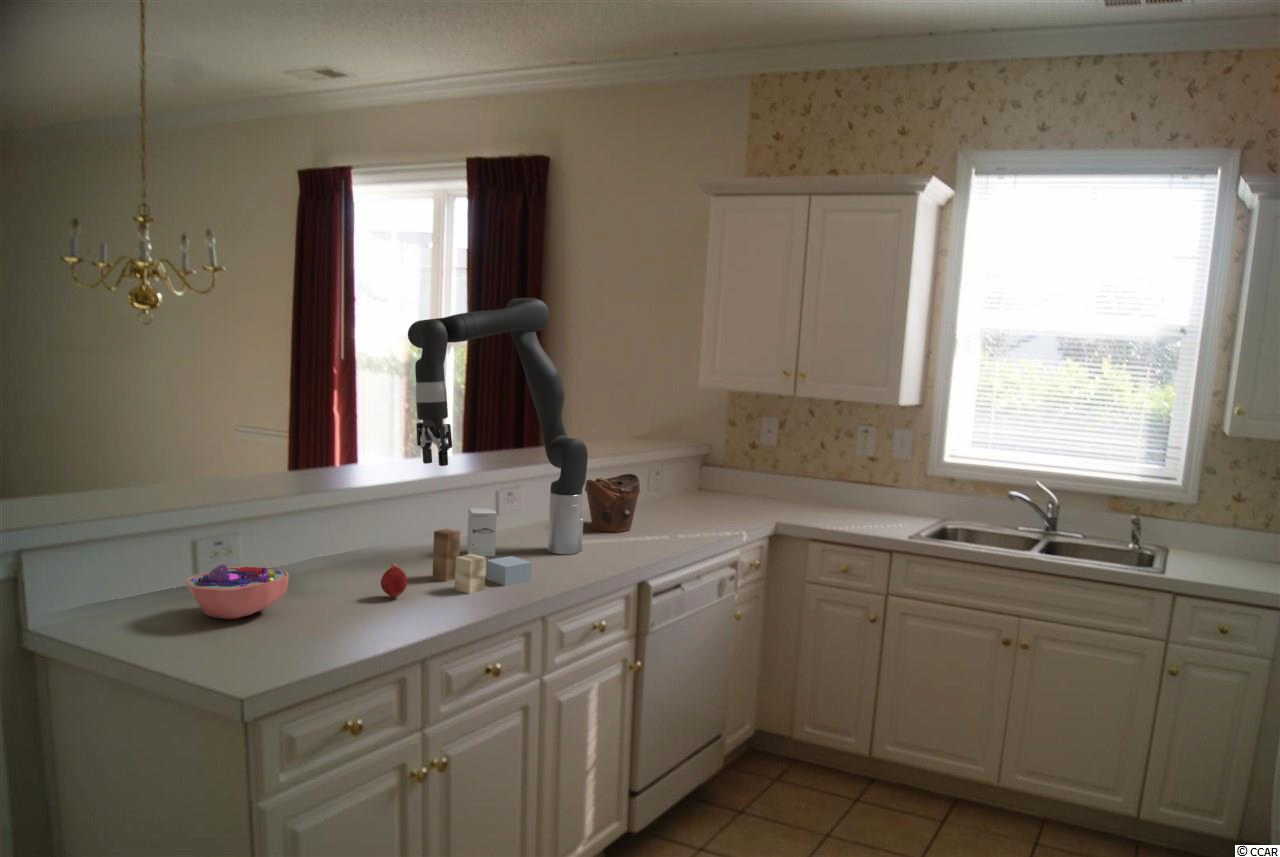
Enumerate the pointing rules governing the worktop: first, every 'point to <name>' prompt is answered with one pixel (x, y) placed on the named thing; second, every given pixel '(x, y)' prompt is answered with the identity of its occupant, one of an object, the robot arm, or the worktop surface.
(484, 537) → the supplement box
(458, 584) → the birch block
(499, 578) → the base block
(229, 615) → the cell model
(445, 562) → the walnut block
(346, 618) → the worktop surface
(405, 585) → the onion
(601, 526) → the brown wooden tapered pot
